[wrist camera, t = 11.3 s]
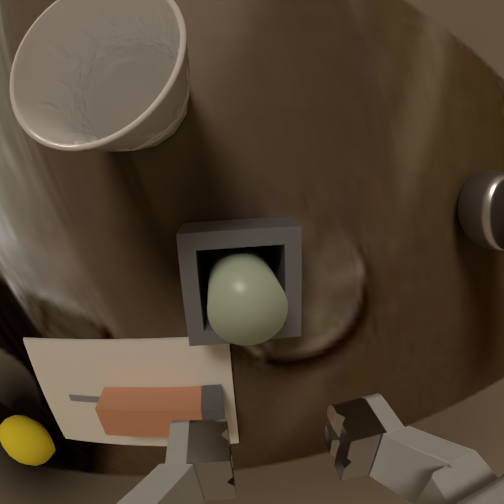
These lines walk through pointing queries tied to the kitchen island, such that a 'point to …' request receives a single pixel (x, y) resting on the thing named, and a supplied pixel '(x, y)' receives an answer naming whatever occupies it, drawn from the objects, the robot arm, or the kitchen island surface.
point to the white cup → (102, 75)
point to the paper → (123, 378)
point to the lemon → (26, 440)
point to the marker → (156, 408)
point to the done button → (245, 298)
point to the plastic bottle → (483, 209)
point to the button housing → (234, 236)
